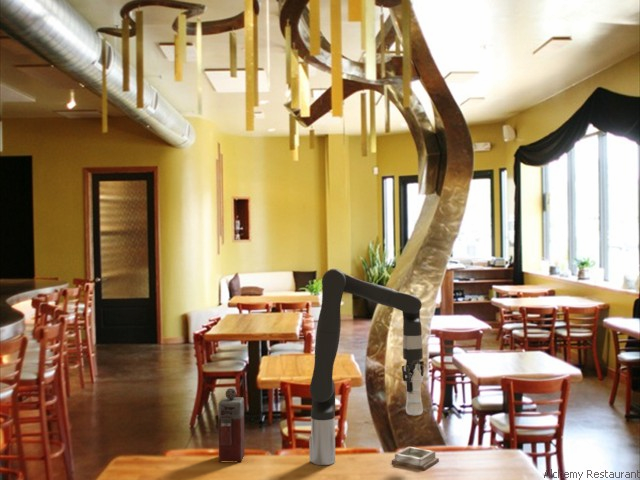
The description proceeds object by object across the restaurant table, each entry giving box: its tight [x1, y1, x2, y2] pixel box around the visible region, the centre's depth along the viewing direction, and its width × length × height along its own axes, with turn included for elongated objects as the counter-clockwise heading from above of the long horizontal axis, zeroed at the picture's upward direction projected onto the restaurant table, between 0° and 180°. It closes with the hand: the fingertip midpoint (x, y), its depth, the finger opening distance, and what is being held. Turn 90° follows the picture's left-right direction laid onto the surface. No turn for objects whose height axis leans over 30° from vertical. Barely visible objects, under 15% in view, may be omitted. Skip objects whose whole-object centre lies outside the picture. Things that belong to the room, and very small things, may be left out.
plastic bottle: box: [404, 363, 424, 416], centre depth 245 cm, size 6×7×20 cm
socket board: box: [391, 446, 440, 471], centre depth 244 cm, size 14×12×4 cm
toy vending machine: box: [217, 387, 245, 462], centre depth 251 cm, size 9×11×28 cm
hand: (413, 390), depth 245 cm, fingers closed on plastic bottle, 6 cm apart
